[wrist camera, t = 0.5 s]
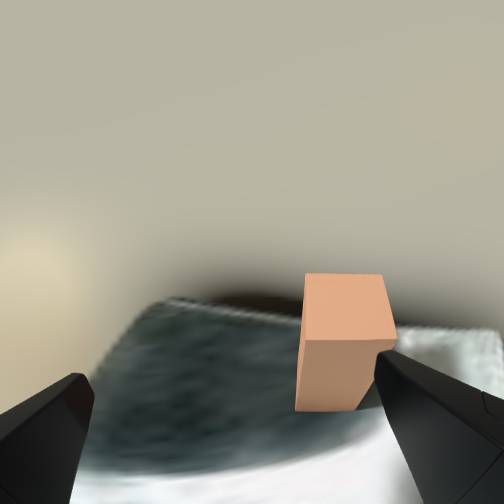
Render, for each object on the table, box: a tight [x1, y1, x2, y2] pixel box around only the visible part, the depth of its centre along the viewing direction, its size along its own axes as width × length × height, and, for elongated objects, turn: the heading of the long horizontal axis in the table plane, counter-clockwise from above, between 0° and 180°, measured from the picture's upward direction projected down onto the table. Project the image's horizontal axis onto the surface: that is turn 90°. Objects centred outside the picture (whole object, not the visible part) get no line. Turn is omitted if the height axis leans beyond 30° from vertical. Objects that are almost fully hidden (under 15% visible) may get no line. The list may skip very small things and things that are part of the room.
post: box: [295, 273, 397, 412], centre depth 19 cm, size 5×5×11 cm
